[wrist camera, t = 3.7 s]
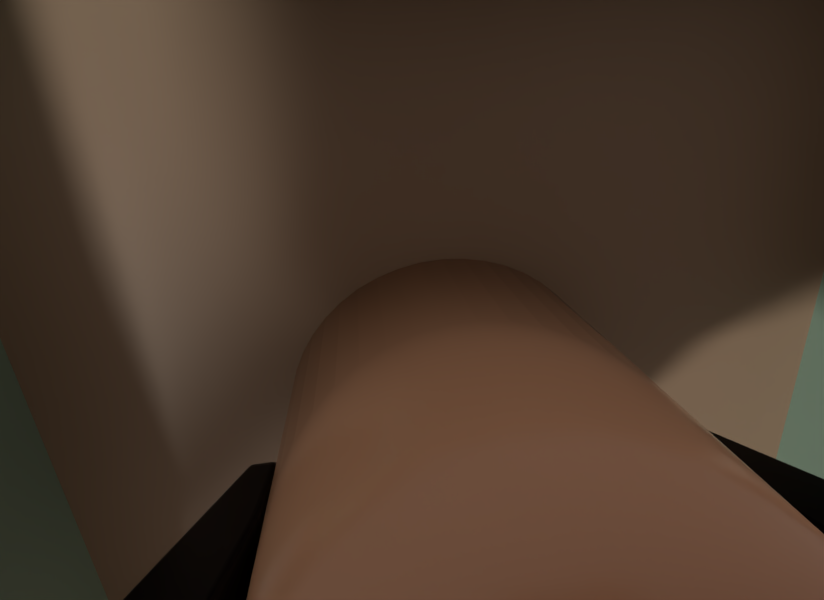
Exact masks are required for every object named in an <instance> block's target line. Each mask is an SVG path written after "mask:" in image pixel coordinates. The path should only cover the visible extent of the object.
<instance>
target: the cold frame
mask: <svg viewBox="0 0 824 600" xmlns="http://www.w3.org/2000/svg"><path fill="white" fill-rule="evenodd" d="M440 259H471V260H481V261H487V262H492V263H496V264H500V265H504V266H507V267H510V268H512V269H515V270H518V271H520V272H523V273H525V274H527V275H529V276H530V277H532V278H534V279H536V280H537V281H539V282H541V283H542V284H544V285H545V286H546V287H548V288H549V289H550V290H551V291H553V292H554V293H555V294H557V295H558V296H559V297H560V298H561V299H562V300H563V301H564V302H565V303H567V304H568V305H569V306H570V307H571V308H572V309H573V310H574V311H575V312H577V313H578V314H579V315H580V316H581V317H582V318H583V319H584V320H586V321H587V322H588V323H589V324H590V325H591V326H592V327H593V328H594V329H596V330H597V331H598V332H599V333H600V334H601V335H602V336H603V337H604V338H606V339H607V340H608V341H609V342H610V343H611V344H612V345H613V346H615V347H616V348H617V349H618V350H619V351H620V352H621V353H622V354H623V355H625V356H626V357H627V358H628V359H629V360H630V361H631V362H632V363H633V364H635V365H636V366H637V367H638V368H639V369H640V370H641V371H642V372H644V373H645V374H646V375H647V376H648V377H649V378H650V379H651V380H652V381H654V382H655V383H656V384H657V385H658V386H659V387H660V388H661V389H662V390H664V391H665V392H666V393H667V394H668V395H669V396H670V397H671V398H673V399H674V400H675V401H676V402H677V403H678V404H679V405H680V406H681V407H683V408H684V409H685V410H686V411H687V412H688V413H689V414H690V415H691V416H693V417H694V418H695V419H696V420H697V421H698V422H699V423H700V424H702V425H703V426H704V427H705V428H706V429H707V430H708V431H711V432H713V433H716V434H718V435H720V436H723V437H725V438H727V439H730V440H732V441H735V442H737V443H739V444H742V445H744V446H746V447H749V448H751V449H754V450H756V451H758V452H761V453H763V454H765V455H768V456H770V457H773V458H775V459H777V460H780V461H782V462H784V463H787V464H789V465H792V466H794V467H796V468H799V469H801V470H803V471H806V472H808V473H811V474H813V475H815V476H818V477H820V478H822V479H824V0H0V600H123V599H124V598H125V597H126V596H127V595H128V594H129V592H130V591H131V590H132V589H133V588H134V587H135V586H136V585H137V584H138V583H139V582H140V581H141V580H142V579H143V578H144V577H145V576H146V575H147V574H148V572H149V571H150V570H151V569H152V568H153V567H154V566H155V565H156V564H157V563H158V562H159V561H160V560H161V559H162V558H163V557H164V556H165V555H166V554H167V552H168V551H169V550H170V549H171V548H172V547H173V546H174V545H175V544H176V543H177V542H178V541H179V540H180V539H181V538H182V537H183V536H184V535H185V534H186V532H187V531H188V530H189V529H190V528H191V527H192V526H193V525H194V524H195V523H196V522H197V521H198V520H199V519H200V518H201V517H202V516H203V515H204V514H205V512H206V511H207V510H208V509H209V508H210V507H211V506H212V505H213V504H214V503H215V502H216V501H217V500H218V499H219V498H220V497H221V496H222V495H223V494H224V492H225V491H226V490H227V489H228V488H229V487H230V486H231V485H232V484H233V483H234V482H235V481H236V480H237V479H238V478H239V477H240V476H241V475H242V474H243V472H244V471H245V470H246V469H247V468H248V467H250V466H251V465H253V464H259V463H267V462H277V458H278V453H279V448H280V444H281V439H282V435H283V430H284V426H285V421H286V416H287V412H288V407H289V403H290V398H291V394H292V389H293V384H294V380H295V375H296V371H297V368H298V365H299V362H300V360H301V357H302V354H303V352H304V350H305V348H306V346H307V344H308V343H309V341H310V339H311V337H312V335H313V334H314V332H315V331H316V330H317V328H318V327H319V326H320V324H321V323H322V322H323V320H324V319H325V318H326V317H327V316H328V315H329V314H330V313H331V312H332V311H333V310H334V309H335V308H336V307H337V306H338V305H339V304H340V303H341V302H342V301H343V300H345V299H346V298H347V297H348V296H350V295H351V294H352V293H354V292H355V291H356V290H357V289H359V288H361V287H362V286H364V285H366V284H367V283H369V282H371V281H373V280H374V279H376V278H378V277H380V276H383V275H385V274H387V273H390V272H392V271H394V270H397V269H400V268H403V267H407V266H410V265H413V264H417V263H421V262H428V261H434V260H440Z"/></svg>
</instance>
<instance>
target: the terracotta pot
mask: <svg viewBox="0 0 824 600" xmlns="http://www.w3.org/2000/svg"><path fill="white" fill-rule="evenodd" d="M246 600H824V534H823V533H822V532H821V531H820V530H819V529H818V528H816V527H815V526H814V525H813V524H812V523H811V522H810V521H809V520H807V519H806V518H805V517H804V516H803V515H802V514H801V513H800V512H799V511H797V510H796V509H795V508H794V507H793V506H792V505H791V504H790V503H789V502H787V501H786V500H785V499H784V498H783V497H782V496H781V495H780V494H778V493H777V492H776V491H775V490H774V489H773V488H772V487H771V486H770V485H768V484H767V483H766V482H765V481H764V480H763V479H762V478H761V477H760V476H758V475H757V474H756V473H755V472H754V471H753V470H752V469H751V468H749V467H748V466H747V465H746V464H745V463H744V462H743V461H742V460H741V459H739V458H738V457H737V456H736V455H735V454H734V453H733V452H732V451H731V450H729V449H728V448H727V447H726V446H725V445H724V444H723V443H722V442H720V441H719V440H718V439H717V438H716V437H715V436H714V435H713V434H712V433H710V432H709V431H708V430H707V429H706V428H705V427H704V426H703V425H702V424H700V423H699V422H698V421H697V420H696V419H695V418H694V417H693V416H691V415H690V414H689V413H688V412H687V411H686V410H685V409H684V408H683V407H681V406H680V405H679V404H678V403H677V402H676V401H675V400H674V399H673V398H671V397H670V396H669V395H668V394H667V393H666V392H665V391H664V390H662V389H661V388H660V387H659V386H658V385H657V384H656V383H655V382H654V381H652V380H651V379H650V378H649V377H648V376H647V375H646V374H645V373H644V372H642V371H641V370H640V369H639V368H638V367H637V366H636V365H635V364H633V363H632V362H631V361H630V360H629V359H628V358H627V357H626V356H625V355H623V354H622V353H621V352H620V351H619V350H618V349H617V348H616V347H615V346H613V345H612V344H611V343H610V342H609V341H608V340H607V339H606V338H604V337H603V336H602V335H601V334H600V333H599V332H598V331H597V330H596V329H594V328H593V327H592V326H591V325H590V324H589V323H588V322H587V321H586V320H584V319H583V318H582V317H581V316H580V315H579V314H578V313H577V312H575V311H574V310H573V309H572V308H571V307H570V306H569V305H568V304H567V303H565V302H564V301H563V300H562V299H561V298H560V297H559V296H558V295H557V294H555V293H554V292H553V291H551V290H550V289H549V288H548V287H546V286H545V285H544V284H542V283H541V282H539V281H537V280H536V279H534V278H532V277H530V276H529V275H527V274H525V273H523V272H520V271H518V270H515V269H512V268H510V267H507V266H504V265H500V264H496V263H492V262H487V261H481V260H471V259H440V260H434V261H428V262H421V263H417V264H413V265H410V266H407V267H403V268H400V269H397V270H394V271H392V272H390V273H387V274H385V275H383V276H380V277H378V278H376V279H374V280H373V281H371V282H369V283H367V284H366V285H364V286H362V287H361V288H359V289H357V290H356V291H355V292H354V293H352V294H351V295H350V296H348V297H347V298H346V299H345V300H343V301H342V302H341V303H340V304H339V305H338V306H337V307H336V308H335V309H334V310H333V311H332V312H331V313H330V314H329V315H328V316H327V317H326V318H325V319H324V320H323V322H322V323H321V324H320V326H319V327H318V328H317V330H316V331H315V332H314V334H313V335H312V337H311V339H310V341H309V343H308V344H307V346H306V348H305V350H304V352H303V354H302V357H301V360H300V362H299V365H298V368H297V371H296V375H295V380H294V384H293V389H292V394H291V398H290V403H289V407H288V412H287V416H286V421H285V426H284V430H283V435H282V439H281V444H280V448H279V453H278V458H277V462H276V467H275V471H274V476H273V480H272V485H271V490H270V494H269V499H268V503H267V508H266V512H265V517H264V522H263V526H262V531H261V535H260V540H259V544H258V549H257V554H256V558H255V563H254V567H253V572H252V576H251V581H250V586H249V590H248V595H247V599H246Z"/></svg>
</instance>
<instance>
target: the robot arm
mask: <svg viewBox="0 0 824 600" xmlns="http://www.w3.org/2000/svg"><path fill="white" fill-rule="evenodd" d="M709 432H710V433H712V434H713V435H714V436H715V437H716V438H717V439H718V440H719V441H720V442H722V443H723V444H724V445H725V446H726V447H727V448H728V449H729V450H731V451H732V452H733V453H734V454H735V455H736V456H737V457H738V458H739V459H741V460H742V461H743V462H744V463H745V464H746V465H747V466H748V467H749V468H751V469H752V470H753V471H754V472H755V473H756V474H757V475H758V476H760V477H761V478H762V479H763V480H764V481H765V482H766V483H767V484H768V485H770V486H771V487H772V488H773V489H774V490H775V491H776V492H777V493H778V494H780V495H781V496H782V497H783V498H784V499H785V500H786V501H787V502H789V503H790V504H791V505H792V506H793V507H794V508H795V509H796V510H797V511H799V512H800V513H801V514H802V515H803V516H804V517H805V518H806V519H807V520H809V521H810V522H811V523H812V524H813V525H814V526H815V527H816V528H818V529H819V530H820V531H821V532H822V533H823V534H824V479H822V478H820V477H818V476H815V475H813V474H811V473H808V472H806V471H803V470H801V469H799V468H796V467H794V466H792V465H789V464H787V463H784V462H782V461H780V460H777V459H775V458H773V457H770V456H768V455H765V454H763V453H761V452H758V451H756V450H754V449H751V448H749V447H746V446H744V445H742V444H739V443H737V442H735V441H732V440H730V439H727V438H725V437H723V436H720V435H718V434H716V433H713V432H711V431H709ZM275 467H276V462H267V463H259V464H253V465H251V466H250V467H248V468H247V469H246V470H245V471H244V472H243V474H242V475H241V476H240V477H239V478H238V479H237V480H236V481H235V482H234V483H233V484H232V485H231V486H230V487H229V488H228V489H227V490H226V491H225V492H224V494H223V495H222V496H221V497H220V498H219V499H218V500H217V501H216V502H215V503H214V504H213V505H212V506H211V507H210V508H209V509H208V510H207V511H206V512H205V514H204V515H203V516H202V517H201V518H200V519H199V520H198V521H197V522H196V523H195V524H194V525H193V526H192V527H191V528H190V529H189V530H188V531H187V532H186V534H185V535H184V536H183V537H182V538H181V539H180V540H179V541H178V542H177V543H176V544H175V545H174V546H173V547H172V548H171V549H170V550H169V551H168V552H167V554H166V555H165V556H164V557H163V558H162V559H161V560H160V561H159V562H158V563H157V564H156V565H155V566H154V567H153V568H152V569H151V570H150V571H149V572H148V574H147V575H146V576H145V577H144V578H143V579H142V580H141V581H140V582H139V583H138V584H137V585H136V586H135V587H134V588H133V589H132V590H131V591H130V592H129V594H128V595H127V596H126V597H125V598H124V599H123V600H246V599H247V595H248V590H249V586H250V581H251V576H252V572H253V567H254V563H255V558H256V554H257V549H258V544H259V540H260V535H261V531H262V526H263V522H264V517H265V512H266V508H267V503H268V499H269V494H270V490H271V485H272V480H273V476H274V471H275Z"/></svg>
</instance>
